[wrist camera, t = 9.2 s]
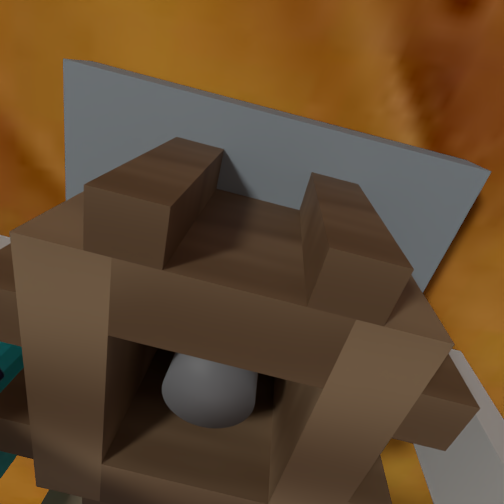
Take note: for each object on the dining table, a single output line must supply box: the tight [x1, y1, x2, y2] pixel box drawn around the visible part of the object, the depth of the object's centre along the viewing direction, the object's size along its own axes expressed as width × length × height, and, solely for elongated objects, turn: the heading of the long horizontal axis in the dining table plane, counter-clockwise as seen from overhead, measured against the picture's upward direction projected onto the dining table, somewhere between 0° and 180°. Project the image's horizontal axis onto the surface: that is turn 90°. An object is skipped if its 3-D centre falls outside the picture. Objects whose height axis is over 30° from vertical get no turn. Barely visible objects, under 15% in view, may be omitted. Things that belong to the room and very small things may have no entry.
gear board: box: [41, 59, 491, 504], centre depth 13 cm, size 23×12×8 cm, turn 167°
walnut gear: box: [0, 137, 480, 504], centre depth 10 cm, size 10×10×5 cm
